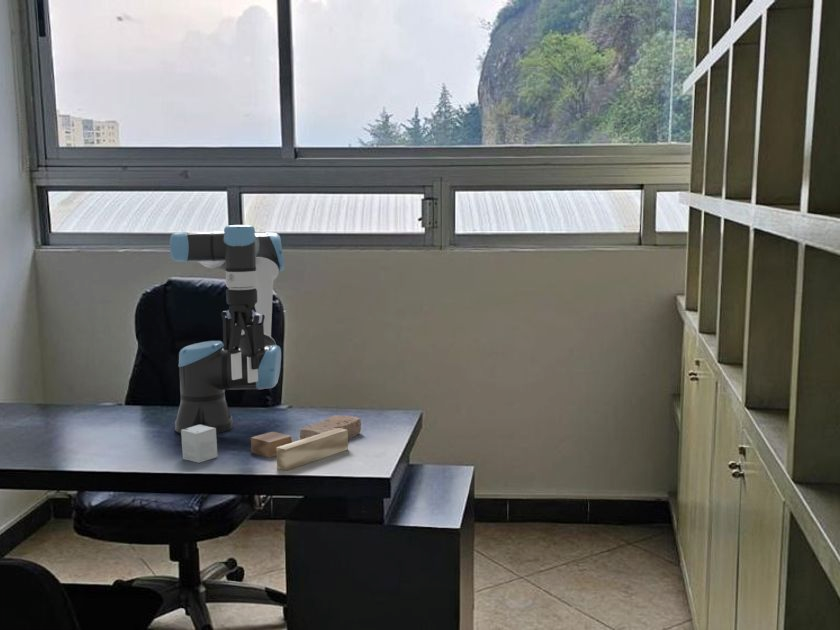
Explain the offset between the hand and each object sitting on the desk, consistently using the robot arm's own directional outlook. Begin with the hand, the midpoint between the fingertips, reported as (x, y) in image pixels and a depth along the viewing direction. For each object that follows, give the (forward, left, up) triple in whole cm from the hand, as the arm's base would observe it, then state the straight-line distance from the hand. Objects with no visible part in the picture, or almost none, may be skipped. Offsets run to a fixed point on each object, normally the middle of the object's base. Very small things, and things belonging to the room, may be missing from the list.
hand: (244, 380), depth 222 cm
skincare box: (-1, -14, -17) cm, 22 cm away
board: (+21, +2, -17) cm, 27 cm away
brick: (+13, +17, -17) cm, 28 cm away
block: (+9, 0, -17) cm, 19 cm away
